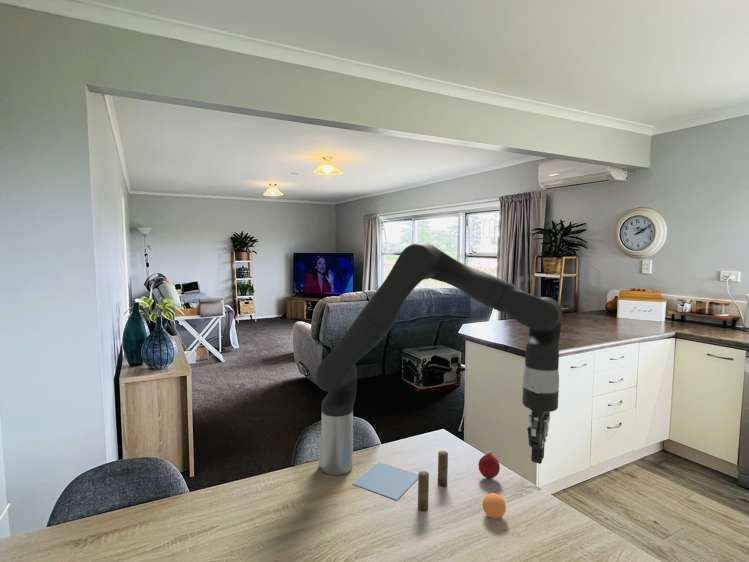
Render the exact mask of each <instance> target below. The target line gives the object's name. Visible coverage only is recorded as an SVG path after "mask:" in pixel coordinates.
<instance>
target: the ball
mask: <svg viewBox="0 0 749 562" xmlns="http://www.w3.org/2000/svg"><path fill="white" fill-rule="evenodd" d="M482 509H483V512H484V513H485V514H486V515H487V516H488V517H489V518H490V519H495V520H496V519H497V520H498V519H500V518H502V517H503V516H505V513H506V510H507V504H506V502H505V500H504V498H503V497H502V496H501V495H500V494H498V493H495V492H490V493H488V494H486V495H485V496H484V498H483V499H482Z"/></svg>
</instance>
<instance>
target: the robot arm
mask: <svg viewBox="0 0 749 562" xmlns="http://www.w3.org/2000/svg"><path fill="white" fill-rule="evenodd" d="M392 266H393V267H392V268H391V270H390V271H389V273H388V275H387V277H386V278H385V280H384V281H383V283H382V284H381V285H380V286H379V288H378V289H377V290H376V292H375V293H374V294H373V296H372V297H371V298H370V300H369V301H368V302H367V303H366V304H365V306H363V307H362V310H361V311H360V312H359V313H358V315H357V316H356V319H354V321H353V323H352V324H351V325H350V327H349V328H348V330H347V331H346V332H345V334H344V335H343V337H341V339H340V341H339V342H338V344H337V345H336V346H335V347H334V348H333V349H332V350H331V351H330V353H329V354H327V356H326V357H325V358H324V359H323V360H322V361H321V362H320V364H319V365H318V367H317V368H316V373H315V382H316V384H317V386H318V388H320V389H321V390H322V391H325V392H327V394H326V396H325V397H324V398H323V399H322V402H321V434H319V436H318V467H319V468H321V470H322V471H323V472H324V473H325V474H329V475H331V476H332V475H334V476H339V475H344V474H347V473H349V472H351V470H352V469H353V465H354V464H353V461H354V456H353V453H354V452H353V451H354V450H353V449H354V404H355V402H356V396H357V385H358V384H357V383H358V382H357V380H358V371H357V366H356V364H357V362H358V361H359V360H361V358H362V357H364V356H365V355H366V354H368V353H369V352H371V350H372V349H374V348H375V347H376V346H378V344H379V343H380V342H382V340H383V339H384V338H385V336H386V335H387V334H388V333H389V332H390V331H391V329H392V328H393V327H394V326H395V323H396V322H397V320H398V318H399V316H400V313H401V309H402V307H403V304H404V303H405V301H406V299H407V297H408V296H409V295H410V294H411V293H412V292H413V290H414V289H415V288H416V287H417V286H418V285H419V284H420V283H421V282H422V281H423V280H428V279H431V280H434V281H438V282H442V283H444V284H447V285H451V286H453V287H455V288H457V289H458V290H460V291H462V292H463V293H465V294H466V295H467V296H468V297H470V298H472V299H473V300H475V301H476V302H479V303H480V304H482V305H485V306H487V307H490V308H491V309H493V310H496V311H498V312H500V313H503V314H505V315H507V316H508V317H510V318H512V319H513V320H515V321H517V322H518V323H520V324H522V325H523V326H525V327H526V328H529V334H528V340H527V343H526V346H525V355H524V356H525V357H524V370H523V376H522V377H523V378H522V379H523V380H522V401H521V402H522V405H523V406H524V407H525V408H527V409H529V410H530V412H531V413H530V414H529V415H528V423H529V426H528V427H527V429H526V430H527V436H528V446H529V447H531V455H530V456H531V462H532V463H535V464H542V462H543V460H544V458H545V443H546V441H547V437H548V433H549V423H550V420H551V413H552V412H554V411H556V410H557V409H558V408H559V392H560V390H559V389H560V374H559V364H560V363H559V362H560V361H559V360H560V351H559V349H560V348H559V347H560V338H561V331H562V321H563V311H562V307H561V305H560V304H559V302H558V301H557V300H556V299H554V298H552V297H547V296H542V297H537V296H535V295H532V294H531V293H528V292H525V291H523V290H522V289H521V288H520V287H519V286H517V285H515V284H513V283H510V282H508V281H506V280H504V279H501V278H499V277H497V276H495V275H492V274H489V273H486V272H484V271H481V270H478V269H476V268H473V267H472V266H469V265H466V264H465V263H463V262H460V261H459V260H457V259H455V258H453V257H452V256H450V255H449V254H447V253H446V252H444V251H442V250H441V249H439V248H438V247H436V246H435V245H433V244H430V243H421V242H420V243H418V242H417V243H413V244H412V243H411V244H410V245H408V246H406V247H405V248H404V249H403V250H402V252H401V253H400V255H399V256H398V258H397V259H396V261H395V263H394V265H392Z"/></svg>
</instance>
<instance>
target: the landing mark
mask: <svg viewBox="0 0 749 562" xmlns="http://www.w3.org/2000/svg"><path fill="white" fill-rule="evenodd" d="M417 481H418V473H414V472H411V471H408V470H405V469H403V468H399V467H396V466H393V465H389V464H386V463H383V462H380V461H378V462H377V463H376V464H374V465H373V466H372V467H371V468H370V469H368V470H367V471H366V472H365V473H363V474H362V475H361V476H360V477H358V479H355V481H353V482H352V485H354V486H356V487H359V488H362V489H363V490H364V489H365V490H367V491H370V492H373V493H375V494H378V495H381V496H383V497H386V498H389V499H391V500H395V501H398V500H400V498H401V497H402V496H403V495H404V494H405V493H406V492H407V491H408V490H409V489H410V488H411V487H412V485H414V484H415V482H417Z"/></svg>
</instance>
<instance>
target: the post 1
mask: <svg viewBox="0 0 749 562" xmlns="http://www.w3.org/2000/svg"><path fill="white" fill-rule="evenodd" d="M417 474H418V479H417V509H418V511H420V512H427V511H428V510H429V488H430V487H429V485H430V483H429V482H430V478H429V477H430V474H429V472H428V471H424V470H421V471H419V472H418V473H417Z"/></svg>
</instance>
